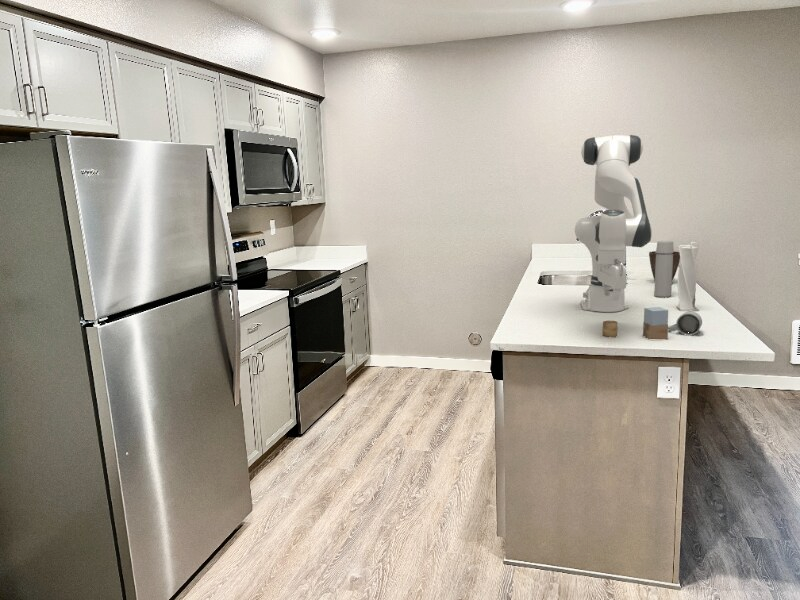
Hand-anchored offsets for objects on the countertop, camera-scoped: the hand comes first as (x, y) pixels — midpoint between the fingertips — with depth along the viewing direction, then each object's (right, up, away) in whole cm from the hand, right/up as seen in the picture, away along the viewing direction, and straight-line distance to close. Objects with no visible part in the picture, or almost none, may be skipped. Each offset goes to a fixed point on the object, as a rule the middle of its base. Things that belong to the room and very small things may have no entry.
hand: (610, 298), depth 206 cm
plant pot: (+62, +8, +100) cm, 118 cm away
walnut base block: (+14, -14, -2) cm, 20 cm away
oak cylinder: (+1, -13, +3) cm, 13 cm away
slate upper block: (+14, -9, -3) cm, 17 cm away
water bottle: (+47, +1, +68) cm, 83 cm away
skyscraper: (+45, -5, +39) cm, 59 cm away
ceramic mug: (+27, -12, +3) cm, 30 cm away
